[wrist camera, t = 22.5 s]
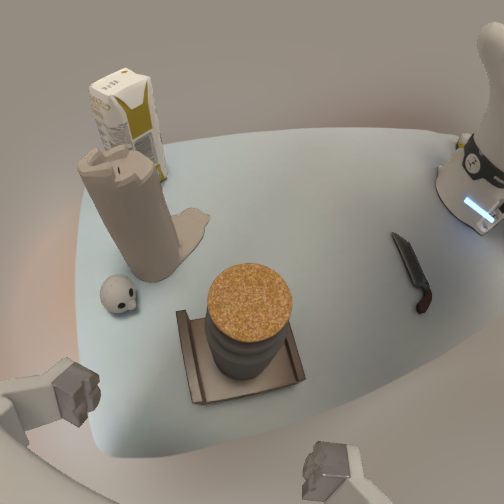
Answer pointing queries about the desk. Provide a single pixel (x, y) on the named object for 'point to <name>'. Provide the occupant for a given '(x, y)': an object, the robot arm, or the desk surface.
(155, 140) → the juice carton
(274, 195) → the desk surface
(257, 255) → the desk surface
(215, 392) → the wooden u-shaped stand
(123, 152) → the candle
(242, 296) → the bottle
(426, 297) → the knife
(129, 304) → the figurine
